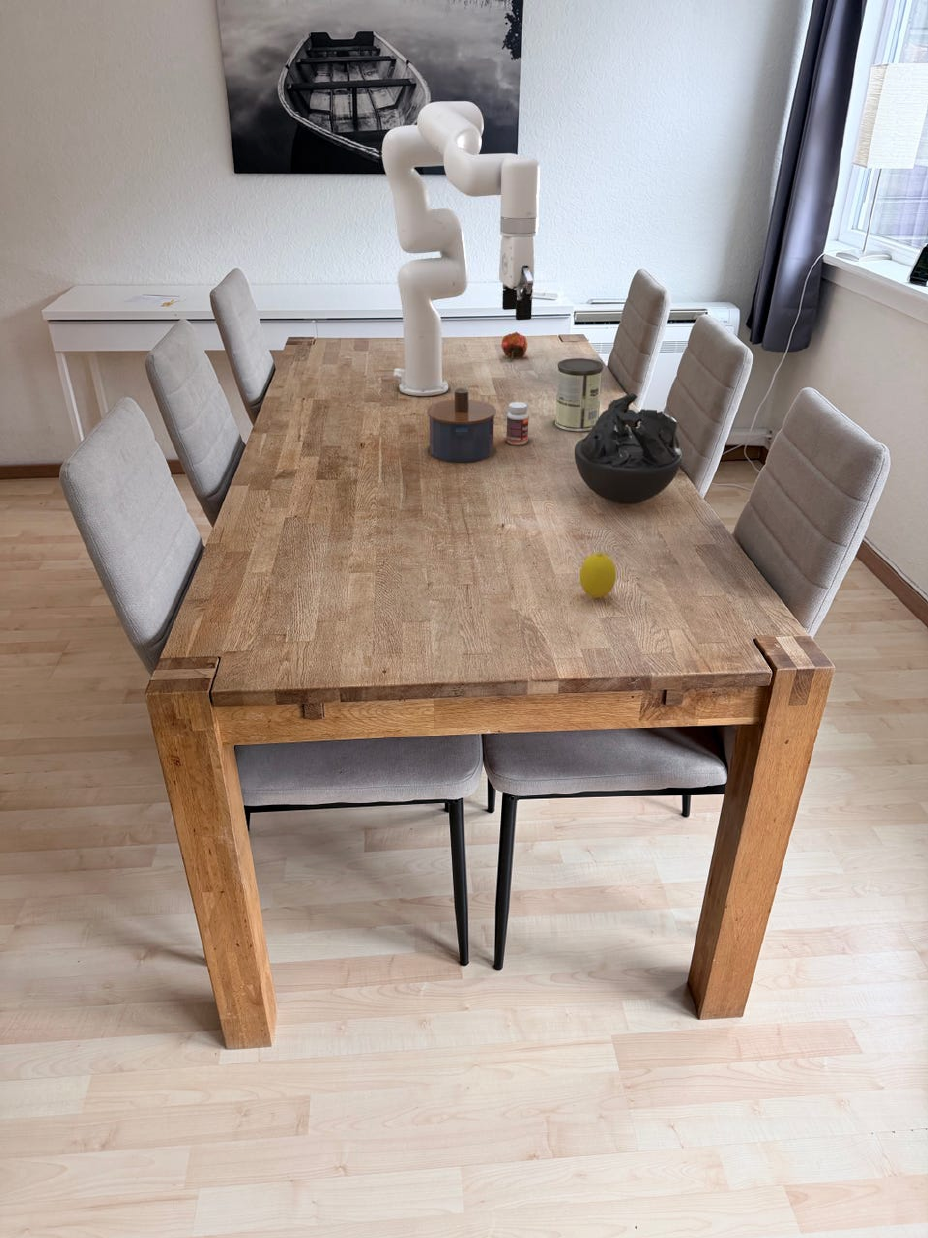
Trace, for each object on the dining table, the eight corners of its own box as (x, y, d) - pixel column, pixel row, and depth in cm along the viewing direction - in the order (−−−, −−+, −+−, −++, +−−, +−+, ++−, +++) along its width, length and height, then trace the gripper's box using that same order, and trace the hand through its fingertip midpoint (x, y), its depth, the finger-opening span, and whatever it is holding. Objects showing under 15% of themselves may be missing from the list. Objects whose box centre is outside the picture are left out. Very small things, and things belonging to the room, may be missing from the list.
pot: (429, 467, 189) (428, 428, 184) (431, 435, 205) (430, 398, 200) (494, 467, 189) (495, 427, 184) (491, 435, 205) (491, 398, 200)
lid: (426, 427, 186) (425, 401, 184) (428, 404, 199) (427, 380, 196) (497, 427, 186) (497, 401, 184) (494, 404, 199) (494, 380, 196)
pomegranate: (525, 368, 257) (534, 340, 261) (518, 352, 251) (527, 323, 254) (501, 368, 260) (510, 340, 264) (494, 352, 254) (503, 323, 257)
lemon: (575, 590, 145) (578, 545, 140) (609, 588, 145) (613, 544, 141) (581, 607, 140) (585, 562, 136) (617, 606, 140) (621, 560, 136)
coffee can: (562, 414, 217) (566, 355, 210) (604, 420, 213) (609, 360, 206) (547, 427, 209) (551, 367, 202) (590, 434, 205) (595, 372, 198)
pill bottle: (526, 445, 199) (527, 408, 195) (504, 444, 200) (505, 407, 196) (529, 438, 203) (530, 402, 199) (508, 436, 204) (509, 400, 200)
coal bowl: (652, 530, 163) (664, 430, 153) (553, 506, 172) (559, 409, 162) (690, 492, 178) (704, 399, 168) (597, 471, 187) (605, 381, 177)
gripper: (489, 221, 187) (488, 306, 196) (513, 233, 173) (511, 325, 182) (523, 219, 189) (521, 304, 198) (550, 232, 174) (546, 322, 183)
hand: (516, 314), depth 190 cm, fingers open, 9 cm apart
